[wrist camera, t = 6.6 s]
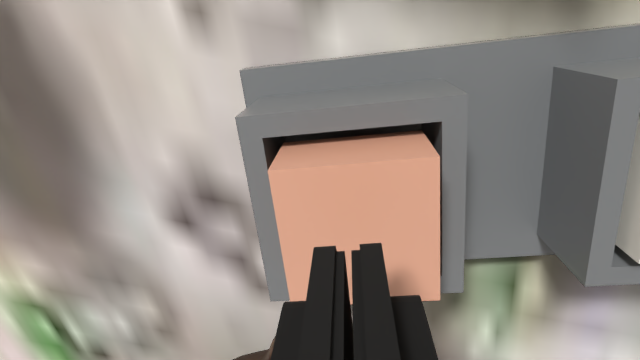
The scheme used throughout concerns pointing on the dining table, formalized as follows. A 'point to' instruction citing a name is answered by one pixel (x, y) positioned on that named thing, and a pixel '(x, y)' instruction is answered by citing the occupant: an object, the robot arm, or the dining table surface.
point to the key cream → (631, 206)
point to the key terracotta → (361, 207)
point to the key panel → (475, 141)
